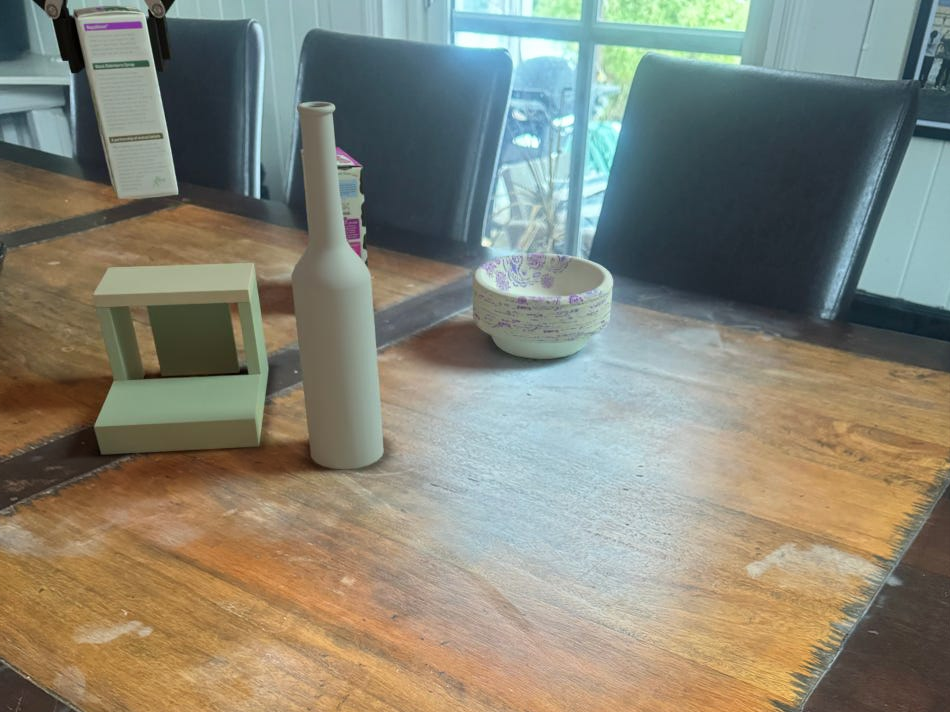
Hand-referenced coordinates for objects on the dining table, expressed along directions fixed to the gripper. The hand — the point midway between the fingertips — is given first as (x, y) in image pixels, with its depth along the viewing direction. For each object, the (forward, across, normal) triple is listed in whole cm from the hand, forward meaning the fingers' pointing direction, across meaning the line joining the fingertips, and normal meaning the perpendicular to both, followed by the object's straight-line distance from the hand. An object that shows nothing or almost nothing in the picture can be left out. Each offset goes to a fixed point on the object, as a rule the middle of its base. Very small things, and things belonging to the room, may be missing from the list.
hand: (119, 68), depth 84 cm
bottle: (+28, +17, -22) cm, 39 cm away
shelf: (+28, +2, -11) cm, 30 cm away
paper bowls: (+28, +40, +1) cm, 48 cm away
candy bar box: (+28, +18, +19) cm, 38 cm away
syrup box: (+10, 0, 0) cm, 10 cm away
